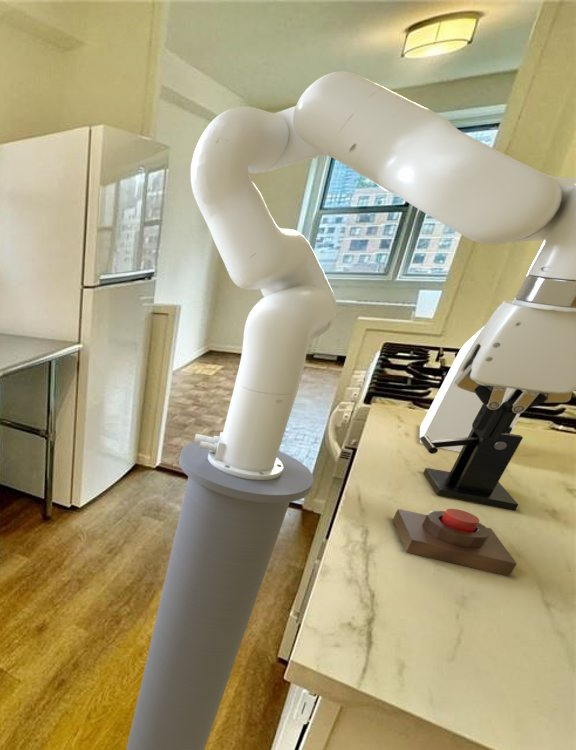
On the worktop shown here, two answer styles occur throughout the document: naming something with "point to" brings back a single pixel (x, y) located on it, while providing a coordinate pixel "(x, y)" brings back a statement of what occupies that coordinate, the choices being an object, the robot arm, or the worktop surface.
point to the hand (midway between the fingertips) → (484, 435)
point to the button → (460, 520)
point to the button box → (452, 542)
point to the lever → (447, 443)
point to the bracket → (478, 472)
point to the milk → (455, 406)
